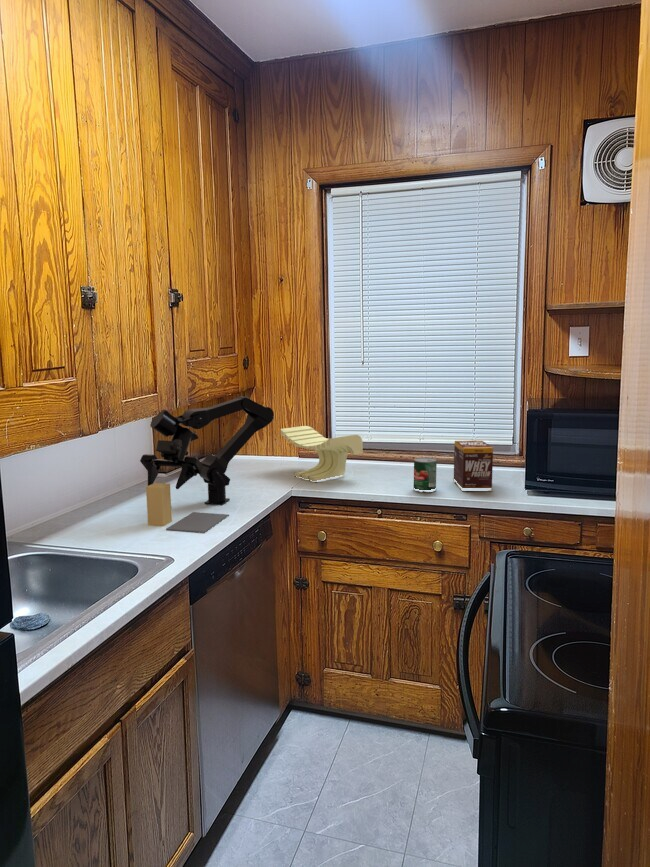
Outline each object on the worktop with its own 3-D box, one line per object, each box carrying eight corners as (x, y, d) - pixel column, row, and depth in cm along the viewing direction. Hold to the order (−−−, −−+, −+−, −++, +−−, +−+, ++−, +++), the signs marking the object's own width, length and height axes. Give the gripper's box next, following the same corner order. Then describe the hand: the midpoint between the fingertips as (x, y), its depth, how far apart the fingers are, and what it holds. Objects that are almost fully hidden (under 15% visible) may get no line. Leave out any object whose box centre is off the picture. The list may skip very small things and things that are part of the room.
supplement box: (462, 492, 217) (463, 448, 215) (453, 481, 233) (454, 440, 230) (492, 491, 217) (493, 447, 215) (481, 481, 233) (482, 440, 230)
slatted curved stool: (362, 480, 236) (362, 433, 233) (330, 487, 226) (329, 438, 223) (312, 467, 258) (312, 424, 256) (281, 473, 248) (280, 428, 246)
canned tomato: (410, 491, 219) (410, 460, 217) (417, 486, 226) (417, 456, 224) (432, 494, 215) (433, 462, 213) (438, 488, 222) (439, 458, 220)
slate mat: (193, 513, 195) (193, 512, 195) (229, 515, 192) (229, 514, 192) (166, 530, 178) (166, 528, 178) (204, 533, 175) (204, 531, 175)
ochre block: (156, 520, 188) (154, 482, 186) (171, 521, 187) (170, 483, 185) (148, 525, 183) (145, 486, 181) (163, 526, 182) (161, 487, 180)
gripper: (141, 428, 191) (123, 471, 182) (197, 430, 186) (180, 474, 177) (156, 449, 200) (139, 491, 191) (209, 451, 195) (194, 494, 186)
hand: (162, 487), depth 186 cm, fingers open, 9 cm apart
